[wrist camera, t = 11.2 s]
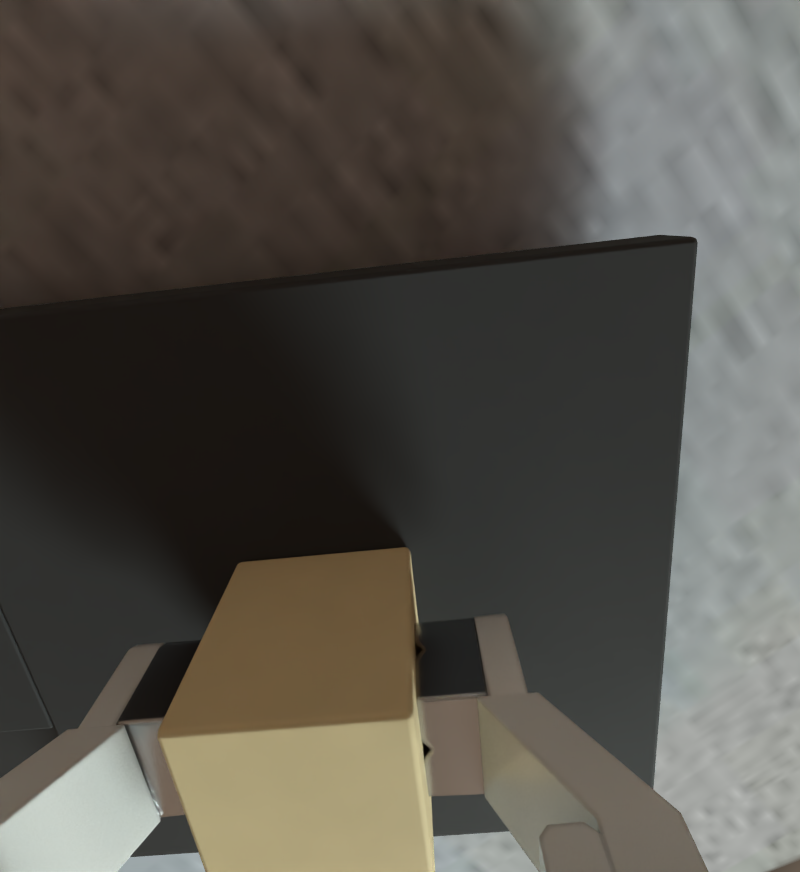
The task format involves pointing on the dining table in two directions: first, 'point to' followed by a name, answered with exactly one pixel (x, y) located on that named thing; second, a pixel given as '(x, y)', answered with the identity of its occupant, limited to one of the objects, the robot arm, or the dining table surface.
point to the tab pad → (344, 524)
